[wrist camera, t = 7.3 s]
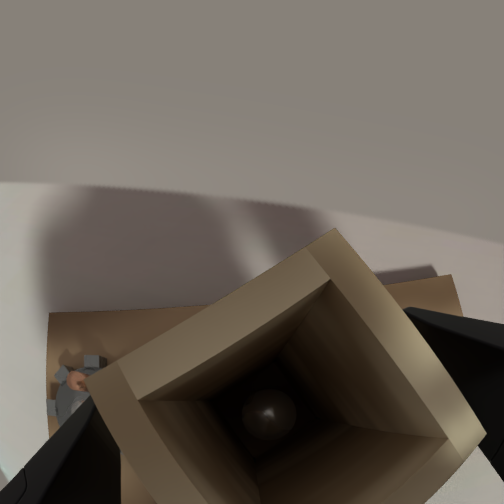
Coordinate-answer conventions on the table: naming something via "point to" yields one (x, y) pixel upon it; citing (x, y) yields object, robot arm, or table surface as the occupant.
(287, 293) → the open-ended square tube
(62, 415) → the drive gear
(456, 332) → the robot arm
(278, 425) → the peg
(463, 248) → the table surface
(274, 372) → the gear board
